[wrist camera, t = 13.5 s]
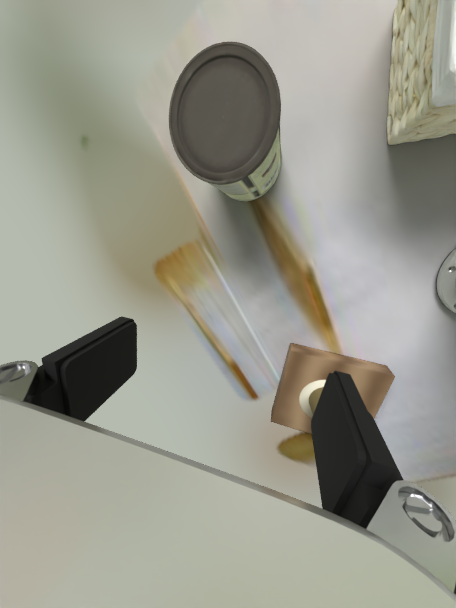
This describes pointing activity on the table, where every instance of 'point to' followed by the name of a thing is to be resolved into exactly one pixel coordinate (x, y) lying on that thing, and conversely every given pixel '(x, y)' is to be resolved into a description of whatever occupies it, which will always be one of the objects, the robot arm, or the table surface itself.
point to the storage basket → (422, 71)
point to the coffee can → (228, 120)
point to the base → (312, 375)
